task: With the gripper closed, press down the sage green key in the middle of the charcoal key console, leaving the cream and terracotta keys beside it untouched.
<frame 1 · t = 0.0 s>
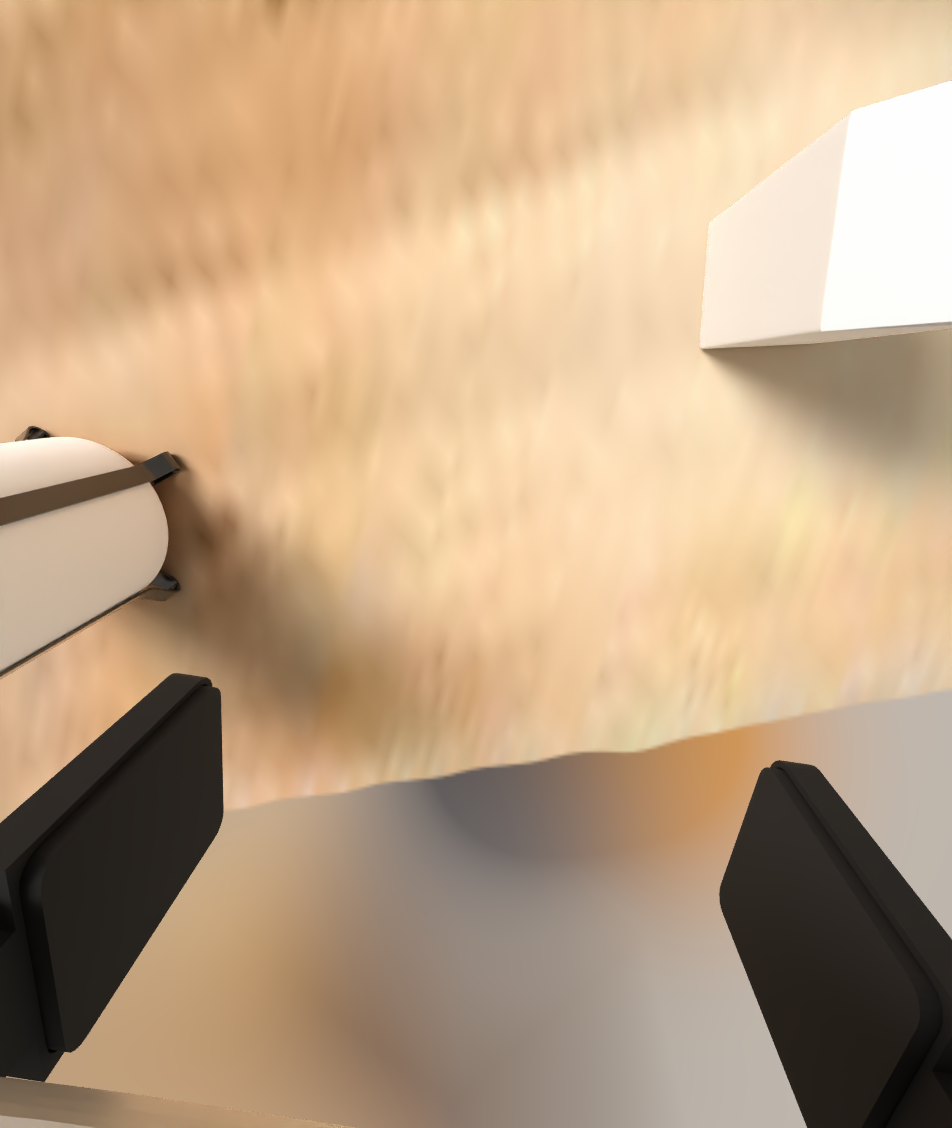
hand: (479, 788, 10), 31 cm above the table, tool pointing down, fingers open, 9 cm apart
coffee press: (94, 515, 42), on the table
milk carton: (760, 285, 35), on the table
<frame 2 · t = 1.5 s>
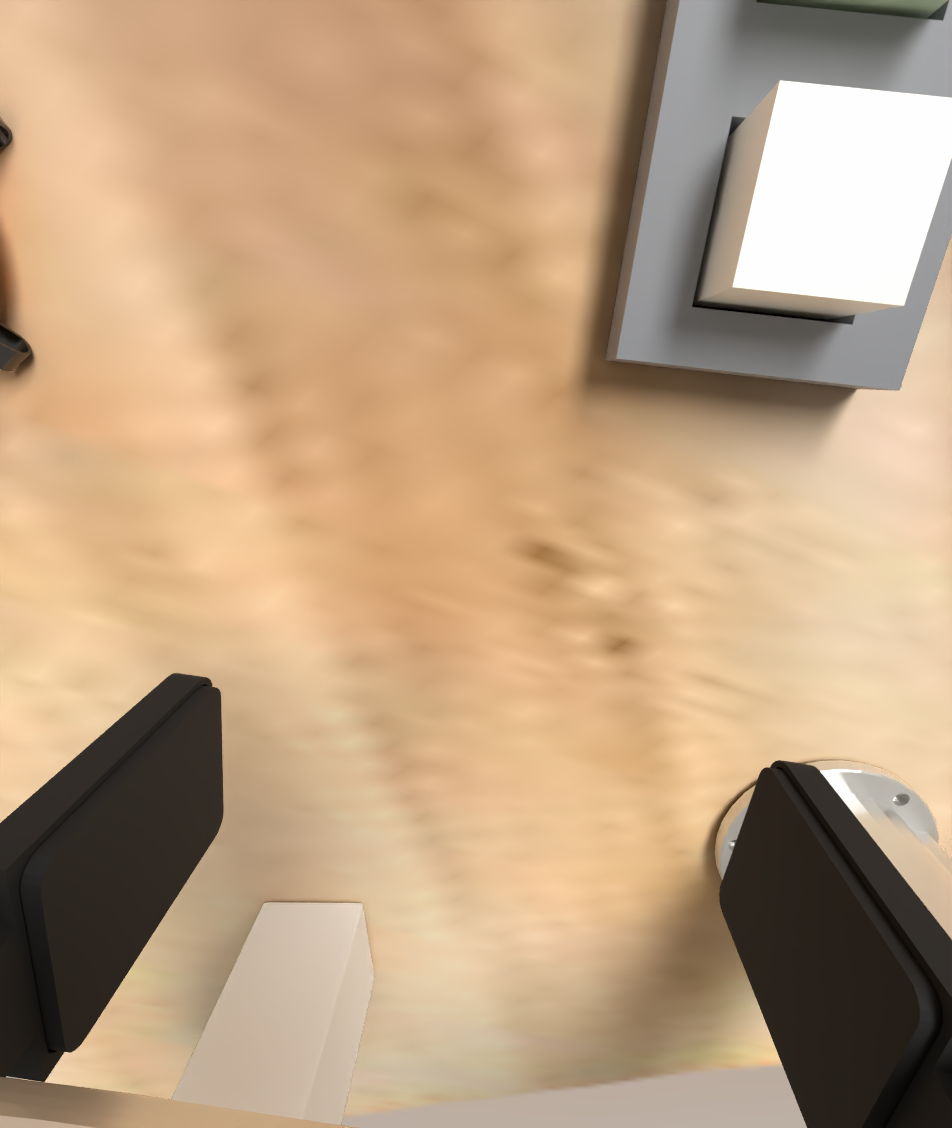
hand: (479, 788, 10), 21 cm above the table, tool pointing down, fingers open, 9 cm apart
milk carton: (322, 935, 40), on the table
cream key: (807, 218, 21), point 4 cm above the table, slide at 0.0 cm
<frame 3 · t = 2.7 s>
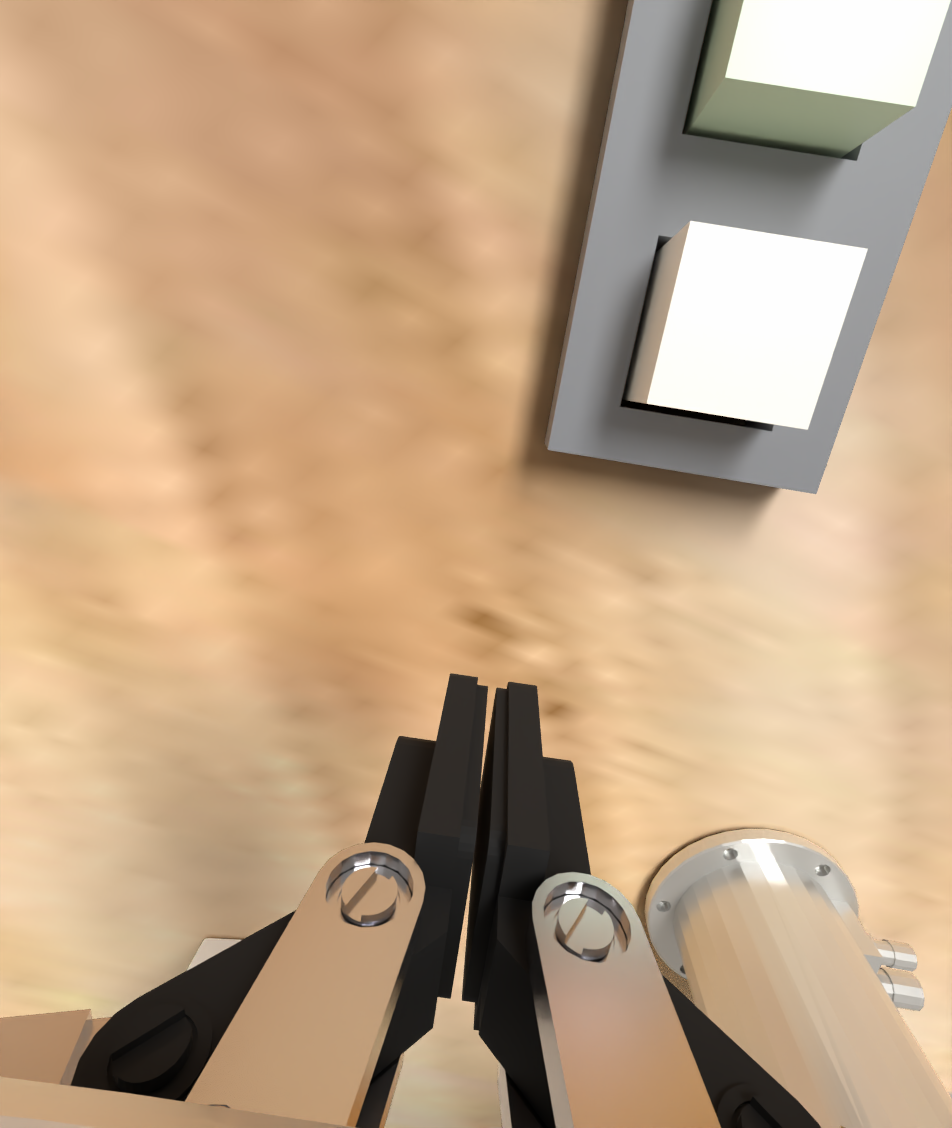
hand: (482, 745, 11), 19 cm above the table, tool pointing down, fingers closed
sage key: (812, 22, 19), point 4 cm above the table, slide at 0.0 cm
milk carton: (261, 971, 41), on the table
cream key: (726, 335, 22), point 4 cm above the table, slide at 0.0 cm
key console: (763, 81, 23), on the table
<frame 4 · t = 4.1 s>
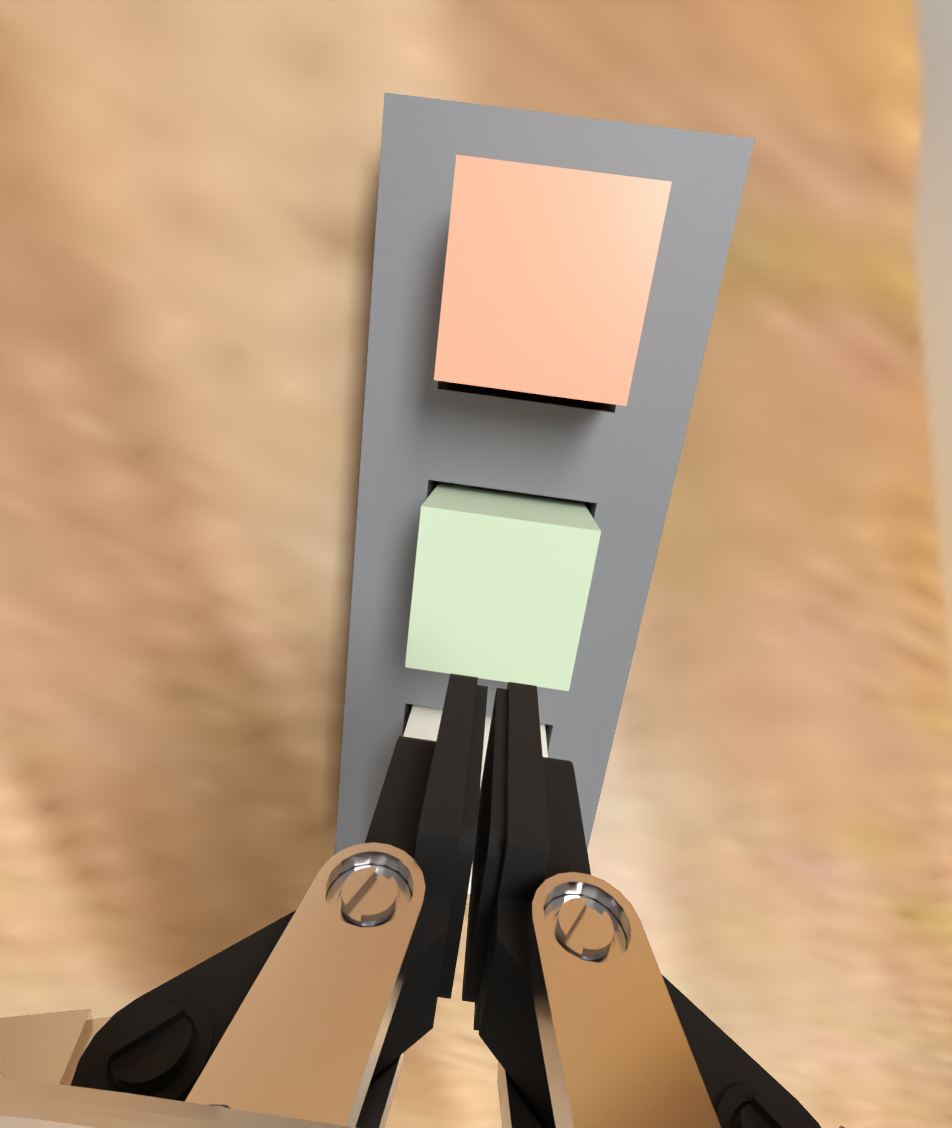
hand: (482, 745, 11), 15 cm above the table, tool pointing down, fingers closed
sage key: (499, 579, 22), point 4 cm above the table, slide at 0.0 cm
terracotta key: (541, 299, 19), point 4 cm above the table, slide at 0.0 cm
cream key: (468, 791, 25), point 4 cm above the table, slide at 0.0 cm
key console: (501, 551, 26), on the table
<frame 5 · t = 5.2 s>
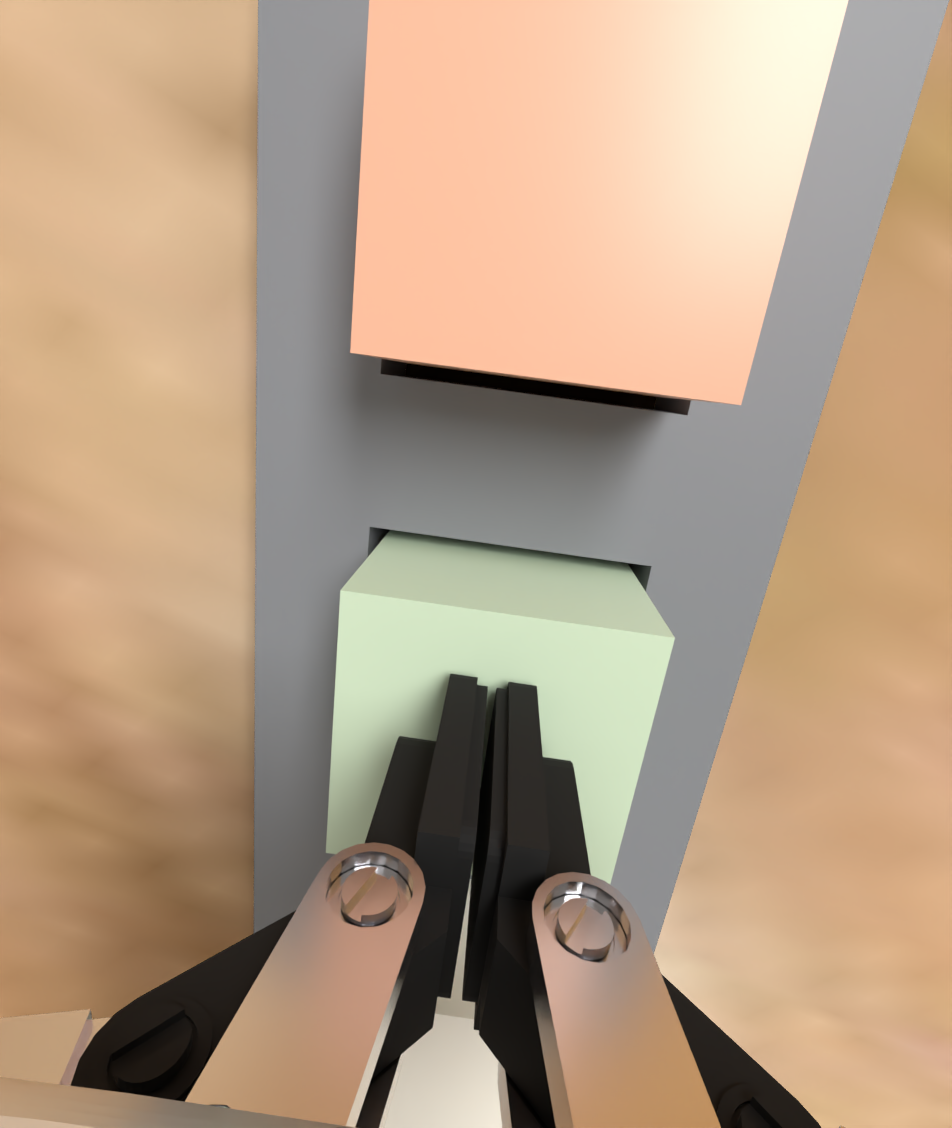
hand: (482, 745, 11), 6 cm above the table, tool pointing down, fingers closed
sage key: (489, 688, 13), point 4 cm above the table, slide at 0.2 cm, touching gripper
terracotta key: (564, 203, 10), point 4 cm above the table, slide at 0.0 cm
cream key: (442, 994, 16), point 4 cm above the table, slide at 0.0 cm
key console: (494, 623, 17), on the table
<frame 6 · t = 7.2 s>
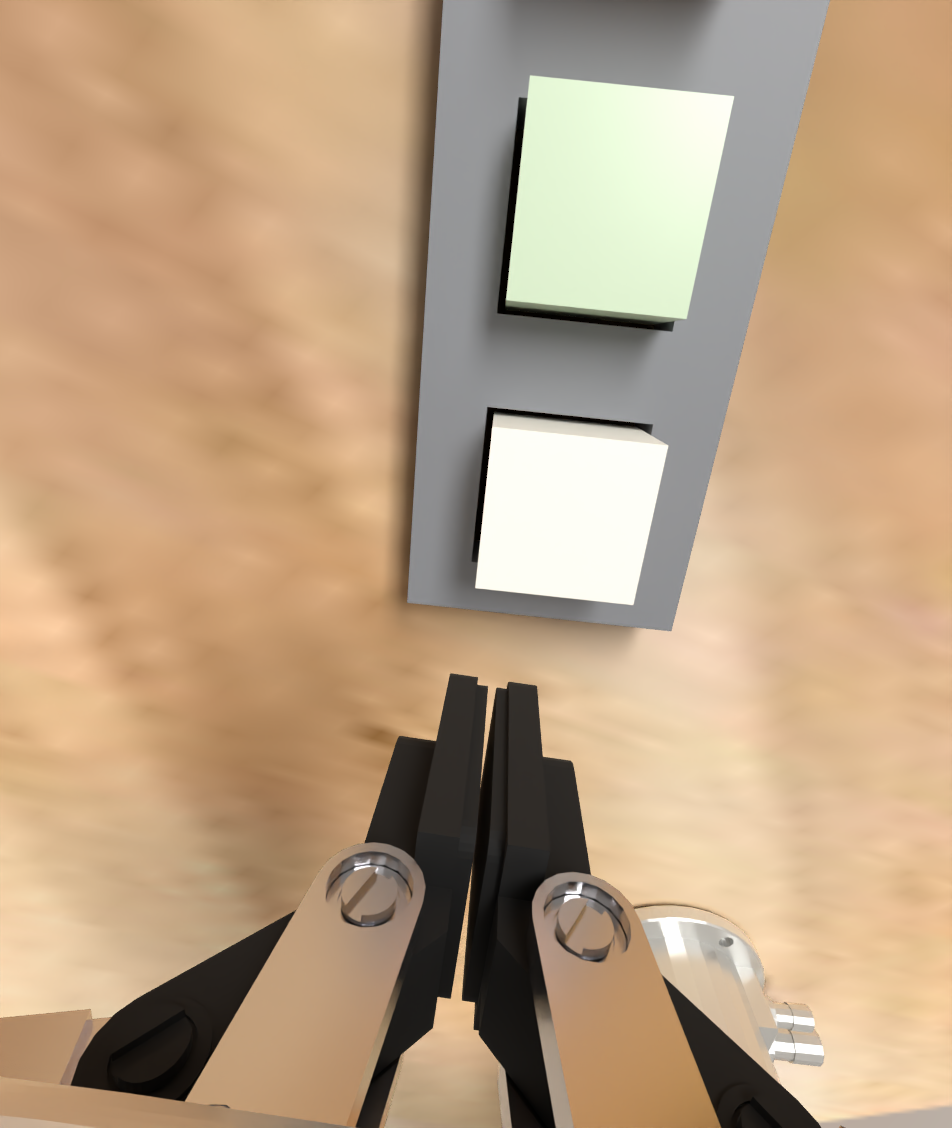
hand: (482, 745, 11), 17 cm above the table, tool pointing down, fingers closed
sage key: (600, 221, 20), point 3 cm above the table, slide at 1.0 cm
cream key: (559, 502, 23), point 4 cm above the table, slide at 0.0 cm
key console: (588, 237, 23), on the table
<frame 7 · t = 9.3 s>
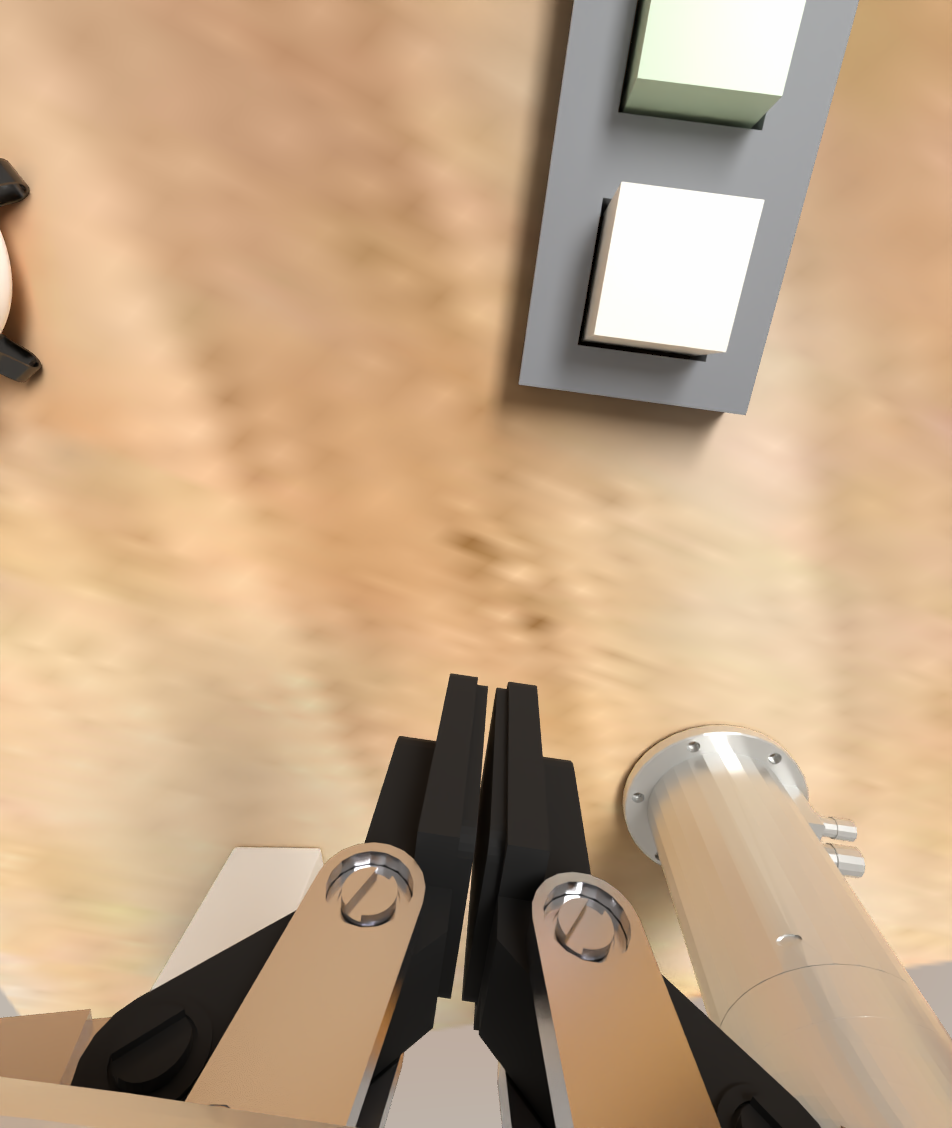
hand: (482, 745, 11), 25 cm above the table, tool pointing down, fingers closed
sage key: (708, 31, 25), point 3 cm above the table, slide at 1.0 cm
milk carton: (285, 878, 46), on the table
cream key: (661, 279, 27), point 4 cm above the table, slide at 0.0 cm
key console: (688, 67, 27), on the table
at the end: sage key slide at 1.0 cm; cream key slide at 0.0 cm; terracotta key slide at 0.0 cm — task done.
